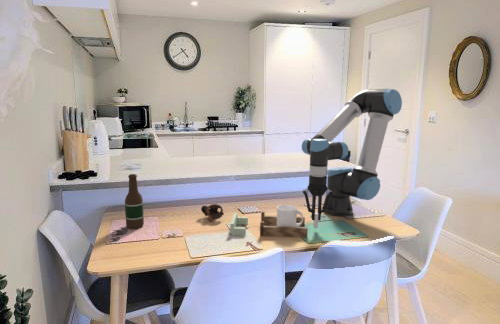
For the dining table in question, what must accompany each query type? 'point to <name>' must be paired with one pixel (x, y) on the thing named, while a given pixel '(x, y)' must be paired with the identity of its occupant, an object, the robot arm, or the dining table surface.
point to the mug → (287, 216)
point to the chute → (281, 227)
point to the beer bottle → (134, 205)
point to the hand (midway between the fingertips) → (315, 227)
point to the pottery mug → (212, 212)
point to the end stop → (236, 221)
